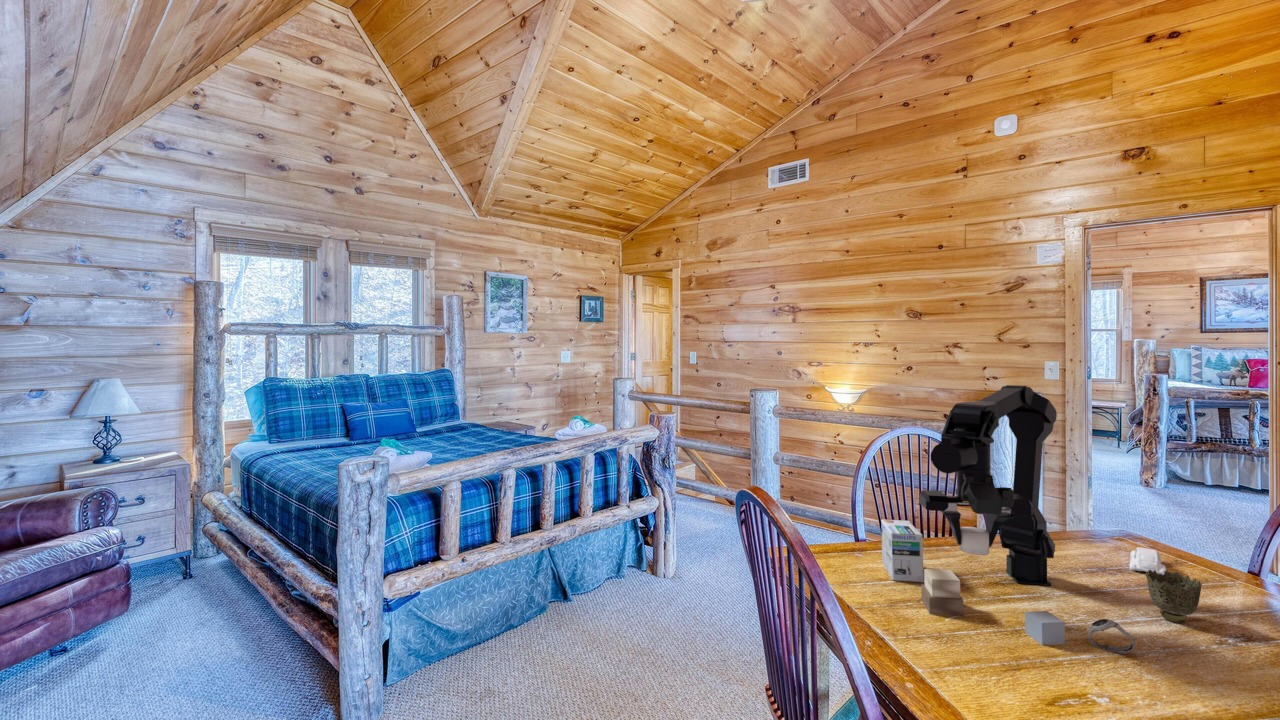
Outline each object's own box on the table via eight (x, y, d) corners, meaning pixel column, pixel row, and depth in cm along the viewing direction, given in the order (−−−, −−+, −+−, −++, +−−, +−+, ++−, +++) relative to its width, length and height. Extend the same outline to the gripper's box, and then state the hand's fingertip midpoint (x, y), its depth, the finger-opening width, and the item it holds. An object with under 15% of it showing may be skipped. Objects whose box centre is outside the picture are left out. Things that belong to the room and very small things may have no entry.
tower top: (951, 587, 111) (951, 570, 111) (960, 598, 106) (960, 580, 106) (924, 585, 112) (924, 568, 112) (932, 596, 107) (931, 578, 107)
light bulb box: (924, 583, 121) (923, 534, 120) (892, 581, 122) (891, 533, 122) (910, 564, 131) (910, 519, 131) (880, 562, 132) (880, 518, 132)
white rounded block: (1167, 580, 119) (1167, 559, 119) (1129, 573, 124) (1129, 553, 123) (1163, 563, 129) (1163, 543, 128) (1127, 557, 133) (1127, 538, 133)
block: (1047, 632, 99) (1046, 611, 99) (1064, 644, 95) (1064, 622, 95) (1025, 633, 99) (1025, 611, 99) (1042, 645, 95) (1041, 622, 95)
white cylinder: (983, 547, 110) (983, 527, 110) (993, 556, 106) (993, 535, 106) (956, 545, 112) (955, 526, 112) (964, 554, 107) (964, 533, 107)
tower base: (953, 603, 111) (953, 586, 111) (963, 617, 105) (963, 599, 105) (921, 601, 113) (921, 584, 113) (929, 615, 107) (929, 597, 107)
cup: (1186, 613, 105) (1186, 571, 104) (1212, 632, 98) (1212, 587, 97) (1138, 607, 107) (1137, 567, 107) (1159, 626, 100) (1159, 582, 100)
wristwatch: (1087, 640, 96) (1087, 612, 96) (1135, 651, 92) (1134, 622, 92) (1087, 649, 93) (1087, 620, 93) (1136, 661, 89) (1136, 631, 89)
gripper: (934, 473, 103) (934, 556, 103) (1047, 477, 99) (1047, 564, 99) (918, 462, 114) (918, 537, 114) (1019, 465, 109) (1019, 543, 110)
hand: (973, 545), depth 109 cm, fingers closed on white cylinder, 5 cm apart
